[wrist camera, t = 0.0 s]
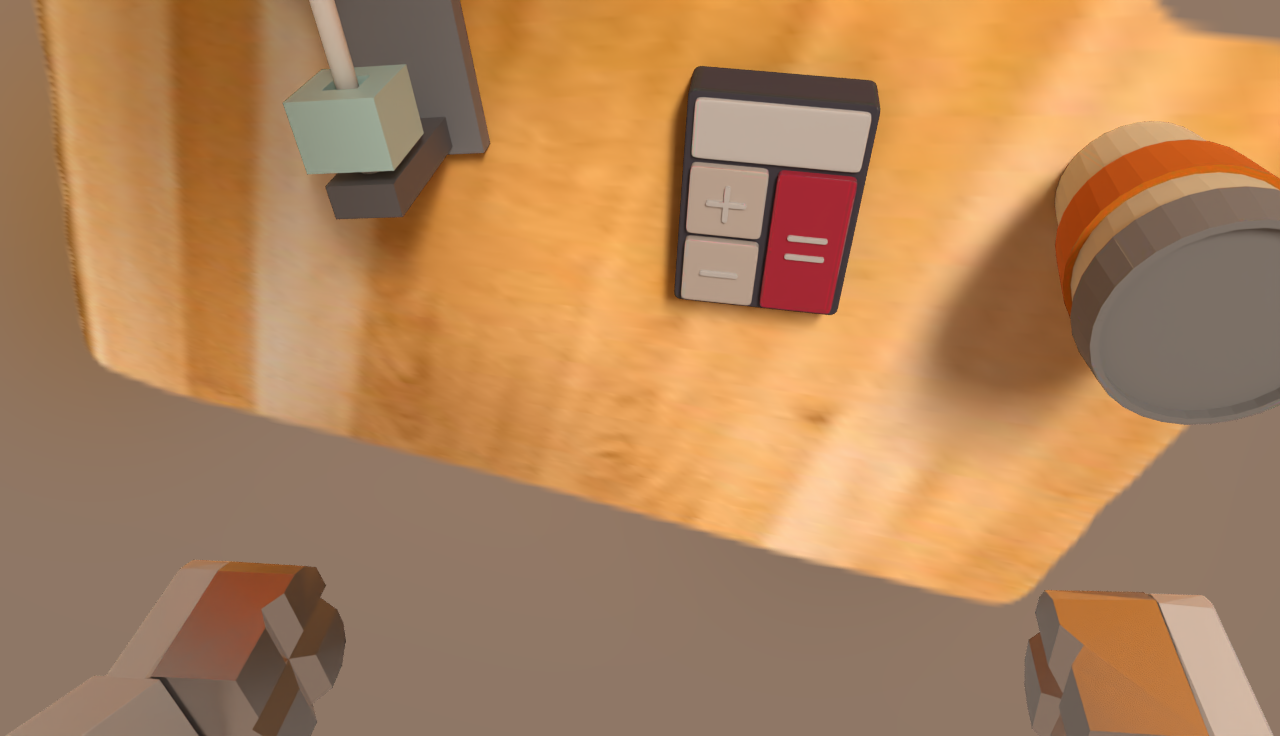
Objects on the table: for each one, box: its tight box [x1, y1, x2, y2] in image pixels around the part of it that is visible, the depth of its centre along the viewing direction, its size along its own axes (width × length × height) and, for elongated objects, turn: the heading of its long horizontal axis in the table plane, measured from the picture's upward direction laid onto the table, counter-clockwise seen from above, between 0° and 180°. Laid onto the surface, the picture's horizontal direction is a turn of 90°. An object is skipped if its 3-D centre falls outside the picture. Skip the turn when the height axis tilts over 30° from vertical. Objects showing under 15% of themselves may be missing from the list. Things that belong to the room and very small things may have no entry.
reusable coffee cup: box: [1055, 121, 1280, 425], centre depth 50 cm, size 13×13×15 cm
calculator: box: [674, 66, 880, 315], centre depth 58 cm, size 11×4×15 cm
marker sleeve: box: [283, 64, 424, 174], centre depth 50 cm, size 4×5×5 cm
